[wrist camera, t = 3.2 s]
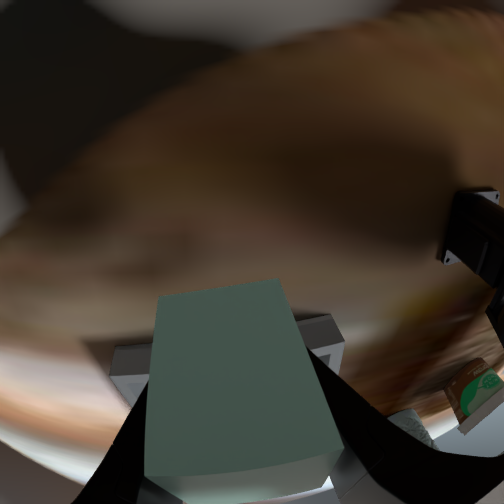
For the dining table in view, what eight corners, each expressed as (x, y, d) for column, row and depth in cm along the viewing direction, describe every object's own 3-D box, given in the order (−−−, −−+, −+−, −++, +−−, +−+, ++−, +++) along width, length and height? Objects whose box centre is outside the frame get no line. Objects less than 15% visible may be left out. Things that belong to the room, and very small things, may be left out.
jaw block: (278, 278, 10) (344, 447, 5) (280, 354, 12) (321, 487, 7) (158, 296, 9) (143, 475, 4) (186, 369, 11) (193, 506, 6)
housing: (330, 314, 22) (364, 379, 16) (317, 402, 29) (334, 451, 23) (115, 346, 20) (101, 416, 15) (166, 425, 27) (167, 476, 22)
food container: (496, 340, 34) (526, 380, 26) (486, 361, 37) (512, 398, 29) (445, 375, 34) (475, 423, 26) (436, 393, 37) (462, 437, 29)
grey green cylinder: (401, 404, 35) (432, 466, 25) (427, 405, 39) (454, 456, 29) (355, 438, 39) (377, 496, 29) (386, 436, 43) (407, 485, 33)
